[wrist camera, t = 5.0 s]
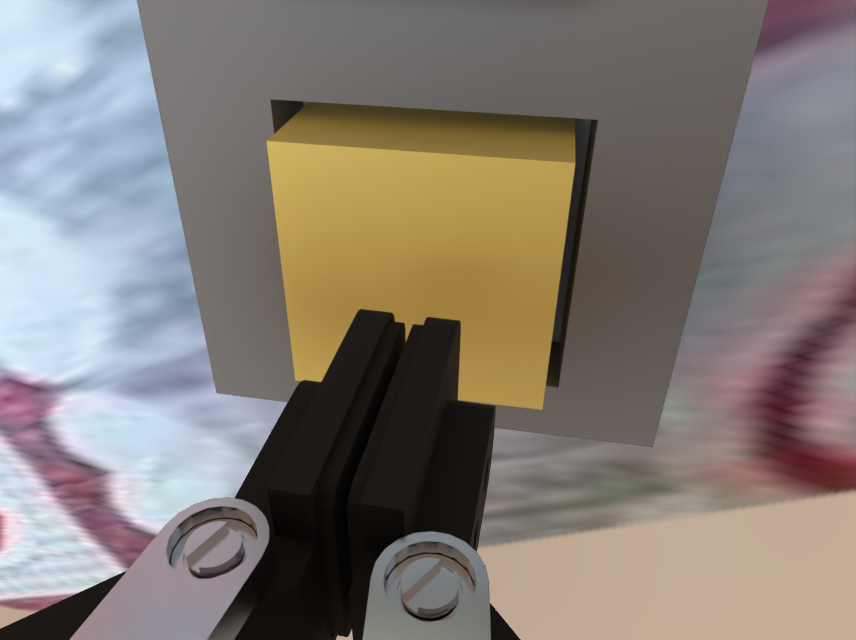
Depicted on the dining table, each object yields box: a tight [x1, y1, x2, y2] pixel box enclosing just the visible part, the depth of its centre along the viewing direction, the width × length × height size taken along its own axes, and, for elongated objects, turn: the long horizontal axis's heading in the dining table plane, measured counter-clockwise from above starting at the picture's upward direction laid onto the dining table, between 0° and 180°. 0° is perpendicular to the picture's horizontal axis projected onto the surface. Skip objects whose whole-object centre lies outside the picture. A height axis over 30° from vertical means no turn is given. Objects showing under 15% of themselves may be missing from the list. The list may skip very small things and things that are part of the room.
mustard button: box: [267, 102, 576, 410], centre depth 16 cm, size 6×6×3 cm
